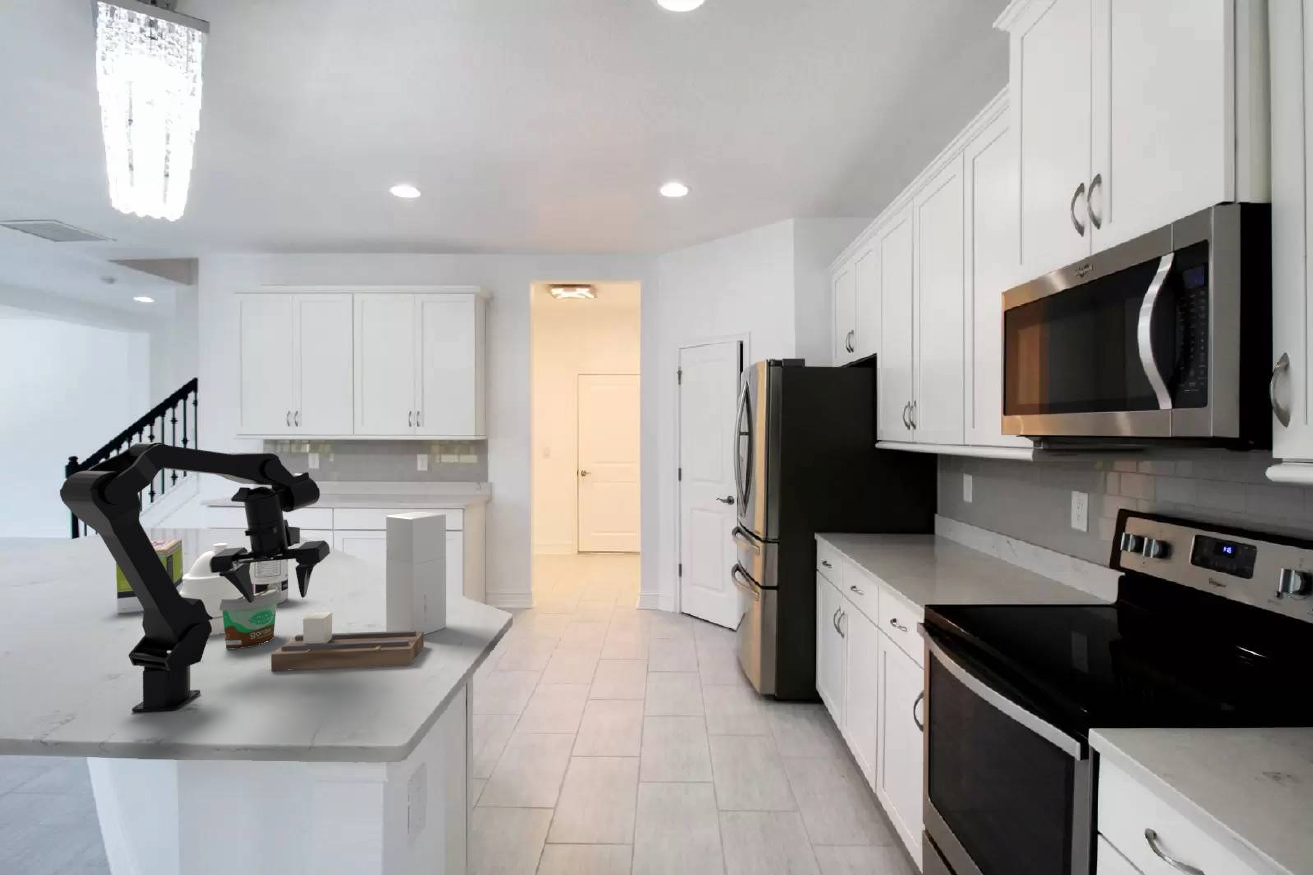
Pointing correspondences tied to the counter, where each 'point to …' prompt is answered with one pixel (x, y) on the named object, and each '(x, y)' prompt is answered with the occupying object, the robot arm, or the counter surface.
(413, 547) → the tall white carton
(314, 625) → the slider tab
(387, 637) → the slider track
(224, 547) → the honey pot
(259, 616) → the food container
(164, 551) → the tea box
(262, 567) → the supplement can
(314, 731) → the counter surface
